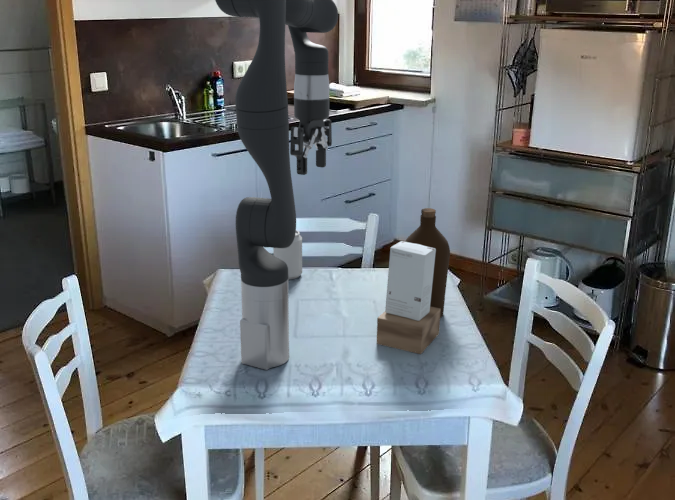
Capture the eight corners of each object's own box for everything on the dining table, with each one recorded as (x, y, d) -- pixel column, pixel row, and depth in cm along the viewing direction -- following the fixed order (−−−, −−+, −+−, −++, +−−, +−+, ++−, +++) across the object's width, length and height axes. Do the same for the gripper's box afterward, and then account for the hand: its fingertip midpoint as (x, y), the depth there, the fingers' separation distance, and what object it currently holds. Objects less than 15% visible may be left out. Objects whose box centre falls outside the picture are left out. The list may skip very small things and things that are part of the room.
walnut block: (420, 354, 151) (422, 327, 149) (376, 343, 155) (377, 317, 153) (439, 333, 160) (440, 308, 158) (396, 324, 165) (397, 299, 163)
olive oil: (419, 300, 178) (424, 200, 169) (455, 313, 171) (462, 210, 162) (390, 313, 170) (394, 209, 162) (427, 327, 163) (433, 219, 155)
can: (304, 271, 196) (304, 228, 192) (300, 281, 189) (299, 237, 185) (276, 269, 197) (275, 227, 193) (271, 279, 190) (270, 235, 186)
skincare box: (384, 313, 155) (387, 247, 151) (396, 303, 160) (399, 239, 156) (421, 322, 152) (424, 254, 147) (432, 312, 157) (436, 246, 152)
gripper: (310, 101, 149) (310, 179, 154) (342, 93, 161) (341, 166, 166) (279, 98, 152) (280, 175, 157) (312, 91, 164) (312, 162, 169)
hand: (311, 170), depth 162 cm, fingers open, 8 cm apart
